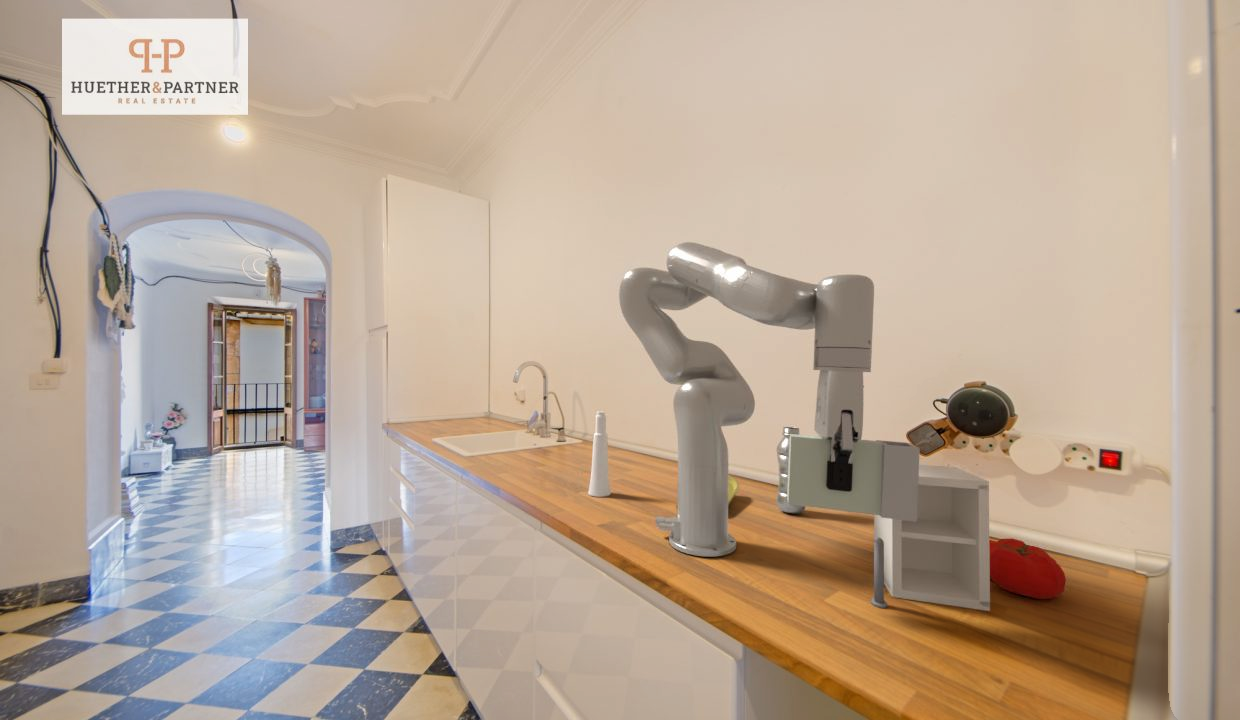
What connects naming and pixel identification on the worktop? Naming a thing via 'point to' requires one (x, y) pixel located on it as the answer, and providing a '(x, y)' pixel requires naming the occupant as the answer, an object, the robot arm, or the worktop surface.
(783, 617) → the worktop surface
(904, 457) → the storage box
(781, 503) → the plastic bottle
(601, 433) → the cosmetic bottle
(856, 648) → the worktop surface
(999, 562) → the tomato
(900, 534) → the cabinet
